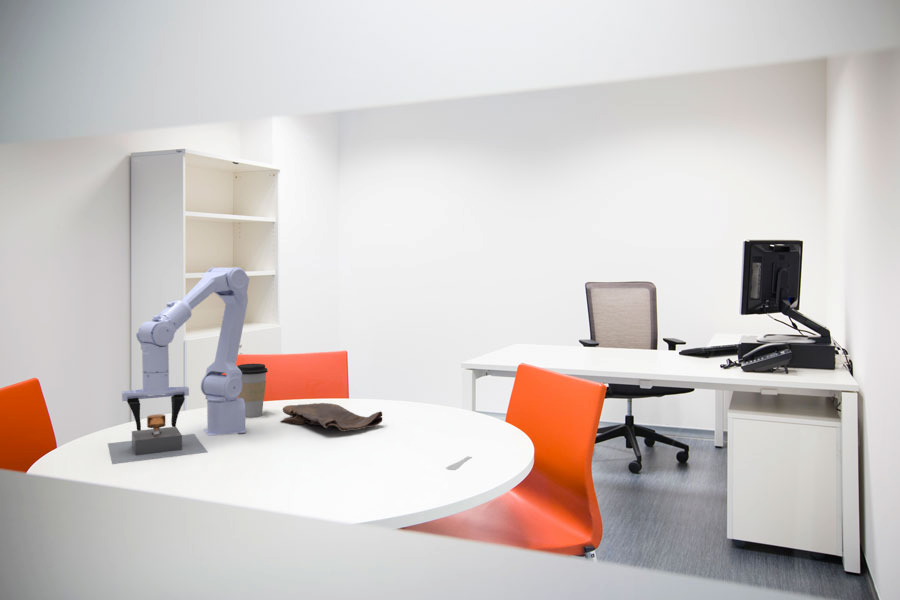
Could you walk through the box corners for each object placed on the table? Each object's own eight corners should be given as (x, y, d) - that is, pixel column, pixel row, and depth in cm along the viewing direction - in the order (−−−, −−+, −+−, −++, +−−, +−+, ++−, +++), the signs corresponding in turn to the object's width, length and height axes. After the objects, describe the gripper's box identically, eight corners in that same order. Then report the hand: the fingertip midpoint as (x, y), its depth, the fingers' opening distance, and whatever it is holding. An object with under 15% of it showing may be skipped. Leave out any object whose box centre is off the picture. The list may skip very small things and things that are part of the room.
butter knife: (442, 468, 143) (454, 470, 142) (484, 443, 165) (495, 444, 164) (442, 470, 143) (454, 472, 142) (484, 444, 165) (495, 446, 164)
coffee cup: (258, 419, 190) (258, 368, 190) (228, 417, 192) (228, 367, 192) (273, 412, 200) (273, 363, 199) (245, 411, 202) (244, 362, 201)
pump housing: (176, 440, 164) (176, 426, 164) (182, 449, 155) (181, 435, 155) (131, 445, 159) (131, 431, 159) (135, 455, 150) (135, 440, 150)
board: (194, 435, 171) (194, 433, 171) (207, 454, 154) (207, 452, 154) (107, 445, 161) (107, 443, 161) (112, 466, 144) (112, 464, 144)
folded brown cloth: (271, 420, 191) (270, 403, 191) (331, 411, 204) (331, 395, 204) (325, 441, 167) (325, 422, 167) (389, 429, 180) (389, 411, 180)
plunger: (164, 442, 160) (164, 413, 160) (166, 446, 157) (166, 416, 156) (146, 444, 158) (146, 415, 158) (148, 448, 155) (148, 418, 154)
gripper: (185, 367, 164) (185, 421, 164) (120, 371, 156) (121, 427, 157) (190, 370, 158) (190, 426, 158) (122, 375, 150) (123, 434, 151)
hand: (156, 427), depth 157 cm, fingers open, 7 cm apart
